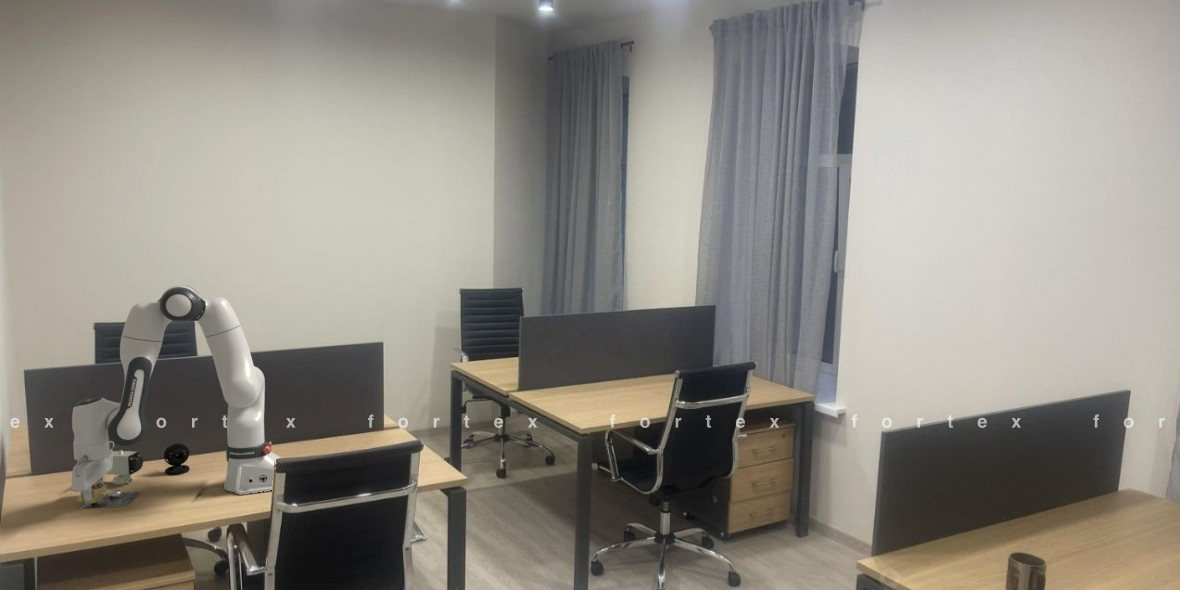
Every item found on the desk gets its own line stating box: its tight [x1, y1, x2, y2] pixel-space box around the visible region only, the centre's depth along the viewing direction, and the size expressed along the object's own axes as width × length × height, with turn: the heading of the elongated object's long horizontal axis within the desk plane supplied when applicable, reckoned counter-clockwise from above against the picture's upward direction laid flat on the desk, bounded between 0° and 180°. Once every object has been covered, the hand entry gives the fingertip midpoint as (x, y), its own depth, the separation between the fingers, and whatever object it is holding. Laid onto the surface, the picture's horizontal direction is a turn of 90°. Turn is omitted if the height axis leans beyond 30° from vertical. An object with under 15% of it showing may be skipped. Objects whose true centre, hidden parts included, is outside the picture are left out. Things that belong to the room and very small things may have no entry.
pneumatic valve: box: [105, 449, 144, 486], centre depth 246 cm, size 6×12×12 cm, turn 89°
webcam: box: [163, 443, 190, 476], centre depth 259 cm, size 8×8×10 cm
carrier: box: [79, 489, 142, 510], centre depth 231 cm, size 13×12×5 cm
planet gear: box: [80, 482, 107, 504], centre depth 228 cm, size 6×6×4 cm
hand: (94, 495), depth 229 cm, fingers closed on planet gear, 6 cm apart
